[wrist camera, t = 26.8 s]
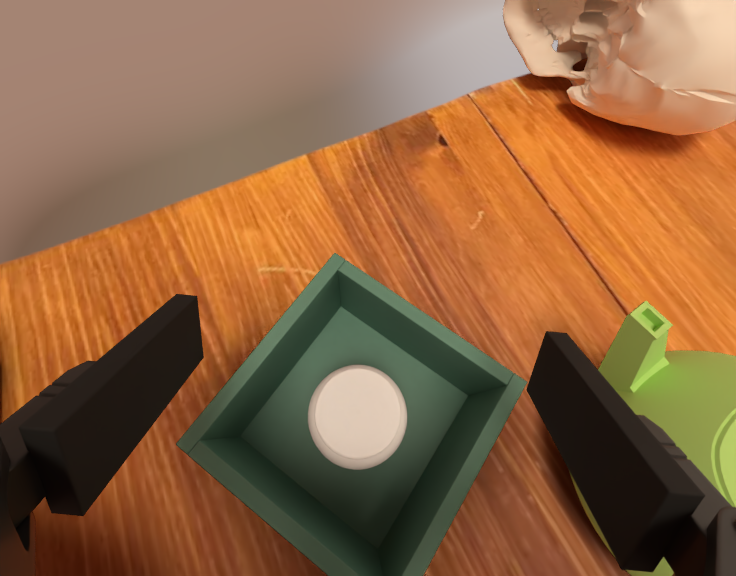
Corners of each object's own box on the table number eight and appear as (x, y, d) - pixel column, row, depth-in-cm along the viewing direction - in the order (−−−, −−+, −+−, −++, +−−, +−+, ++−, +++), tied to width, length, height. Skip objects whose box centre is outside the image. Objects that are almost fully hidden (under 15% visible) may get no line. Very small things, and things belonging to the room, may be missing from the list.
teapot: (475, 393, 27) (574, 368, 15) (607, 299, 30) (778, 215, 18) (693, 702, 21) (1122, 1050, 9) (828, 549, 24) (1285, 668, 12)
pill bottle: (410, 431, 25) (439, 434, 17) (343, 477, 24) (338, 505, 16) (368, 363, 26) (376, 334, 18) (303, 403, 25) (279, 392, 17)
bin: (480, 393, 27) (527, 381, 20) (380, 566, 23) (393, 632, 16) (339, 296, 29) (334, 252, 22) (226, 439, 25) (174, 444, 18)
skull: (480, 101, 41) (651, 93, 43) (547, 171, 29) (783, 157, 31) (513, -80, 32) (734, -83, 33) (635, -88, 19) (978, -92, 21)
